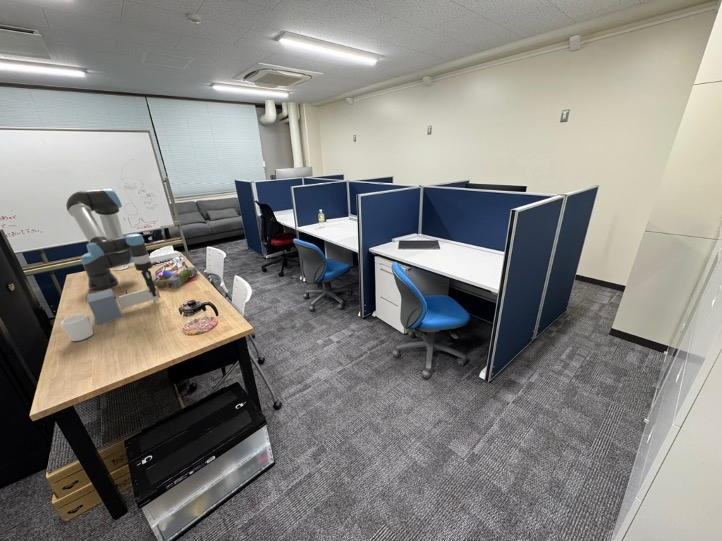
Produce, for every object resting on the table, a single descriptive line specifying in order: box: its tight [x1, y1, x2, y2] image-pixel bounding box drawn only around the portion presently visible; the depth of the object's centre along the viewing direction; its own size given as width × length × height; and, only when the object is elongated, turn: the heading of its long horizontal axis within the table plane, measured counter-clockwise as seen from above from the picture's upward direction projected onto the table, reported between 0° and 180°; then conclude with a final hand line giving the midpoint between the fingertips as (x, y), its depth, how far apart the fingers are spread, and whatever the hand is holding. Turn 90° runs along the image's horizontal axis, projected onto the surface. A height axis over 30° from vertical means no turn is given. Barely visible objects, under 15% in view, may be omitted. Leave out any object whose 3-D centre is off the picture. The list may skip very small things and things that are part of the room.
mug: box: [60, 313, 94, 343], centre depth 138 cm, size 11×9×10 cm
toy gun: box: [152, 266, 200, 289], centre depth 196 cm, size 7×27×20 cm
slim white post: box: [118, 286, 161, 309], centre depth 164 cm, size 1×18×7 cm, turn 133°
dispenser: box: [87, 288, 122, 325], centre depth 154 cm, size 12×11×13 cm
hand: (154, 298), depth 169 cm, fingers open, 7 cm apart
